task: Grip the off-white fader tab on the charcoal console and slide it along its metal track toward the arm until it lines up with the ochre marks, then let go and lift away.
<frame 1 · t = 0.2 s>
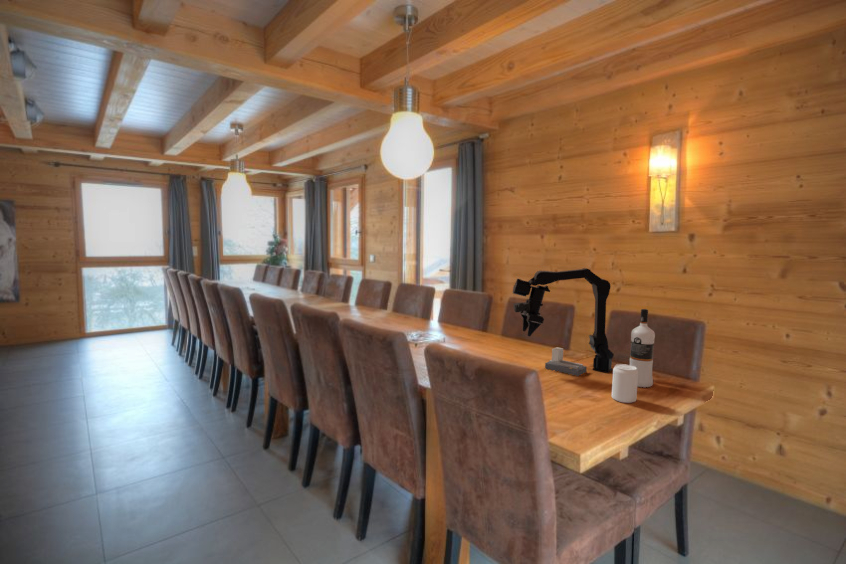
hand: (526, 333, 196), 15 cm above the table, tool pointing down, fingers open, 9 cm apart
fader console: (565, 370, 194), on the table
fader tab: (557, 355, 196), point 6 cm above the table, slide at 4.0 cm
vodka: (639, 384, 177), on the table
white cylinder: (623, 400, 160), on the table
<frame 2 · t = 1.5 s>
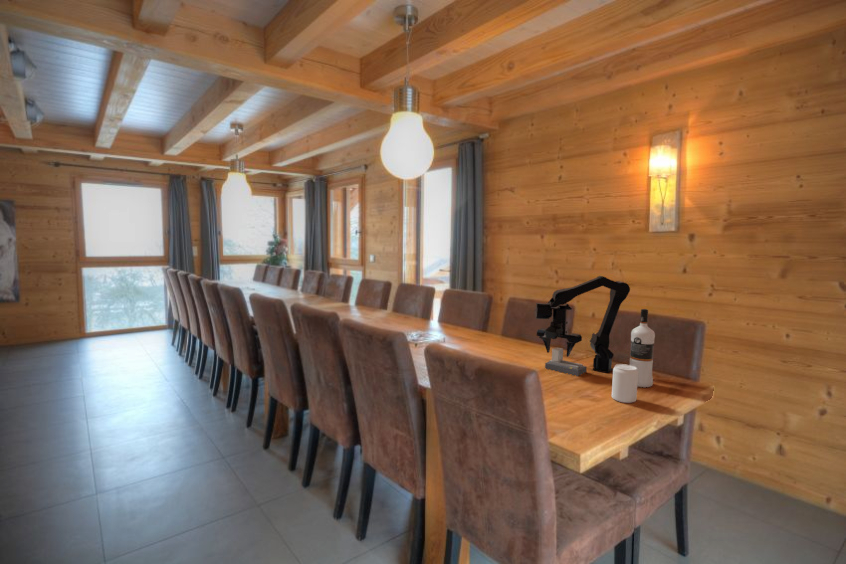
hand: (557, 354, 196), 6 cm above the table, tool pointing down, fingers open, 9 cm apart
nothing on the table moved.
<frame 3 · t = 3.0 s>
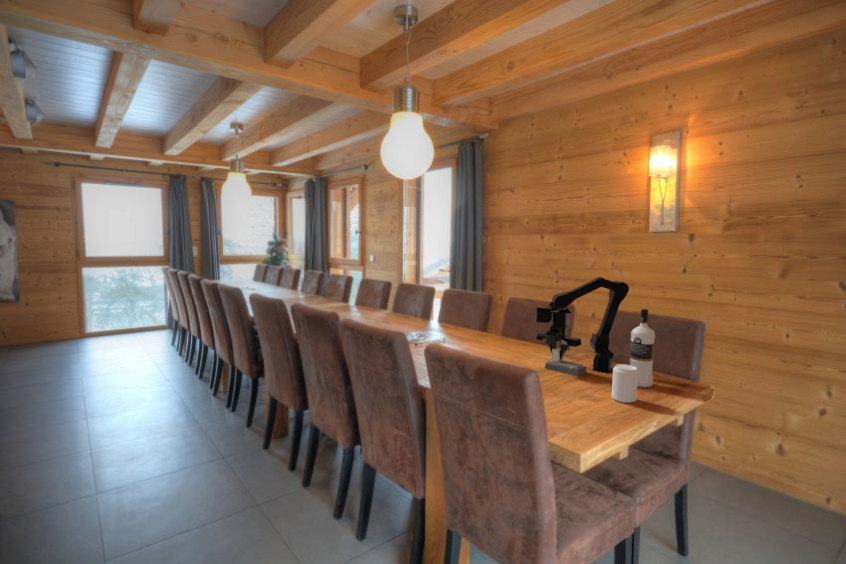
hand: (557, 358, 196), 5 cm above the table, tool pointing down, fingers closed on fader tab, 3 cm apart
fader tab: (557, 355, 196), point 6 cm above the table, slide at 4.0 cm, touching gripper
everything else where it was.
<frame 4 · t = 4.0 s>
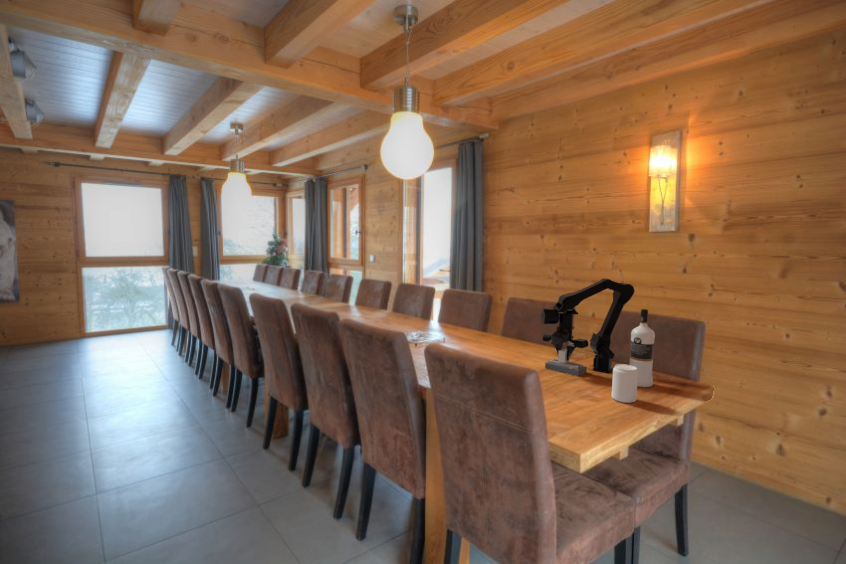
hand: (563, 359, 194), 4 cm above the table, tool pointing down, fingers closed on fader tab, 3 cm apart
fader tab: (563, 357, 194), point 6 cm above the table, slide at 1.0 cm, touching gripper
everything else where it was.
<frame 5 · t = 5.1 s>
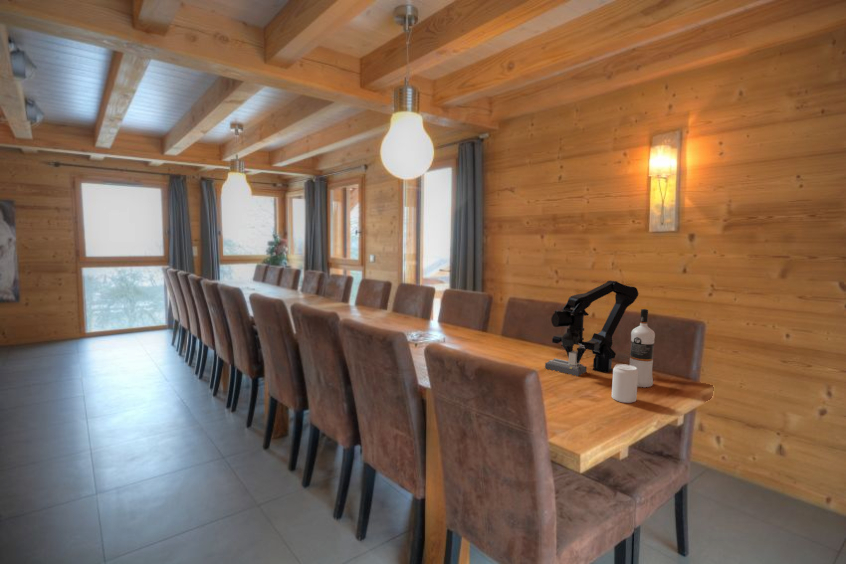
hand: (574, 362, 191), 4 cm above the table, tool pointing down, fingers closed on fader tab, 3 cm apart
fader tab: (574, 359, 191), point 6 cm above the table, slide at -3.7 cm, touching gripper
everything else where it was.
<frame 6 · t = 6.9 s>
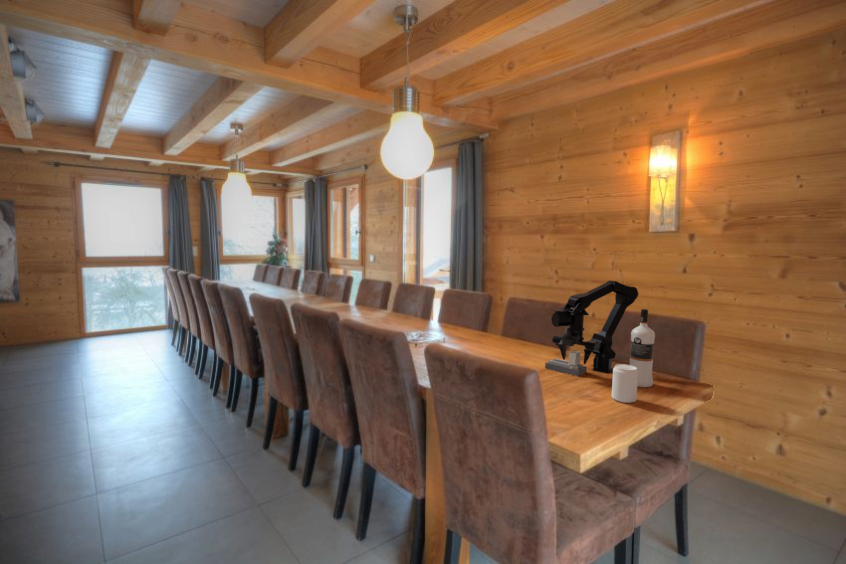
hand: (574, 361, 191), 5 cm above the table, tool pointing down, fingers open, 9 cm apart
fader tab: (574, 359, 191), point 6 cm above the table, slide at -3.8 cm
everything else where it was.
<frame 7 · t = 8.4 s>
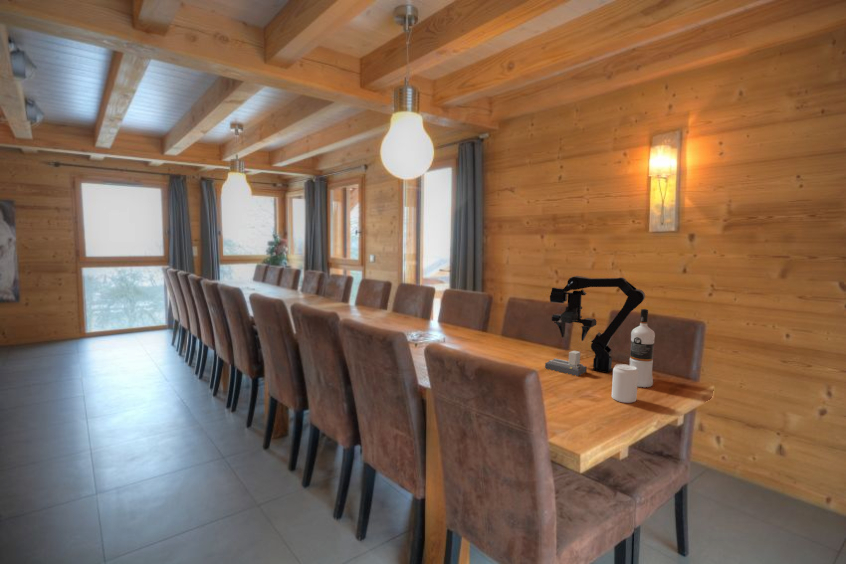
hand: (572, 338, 201), 12 cm above the table, tool pointing down, fingers open, 9 cm apart
nothing on the table moved.
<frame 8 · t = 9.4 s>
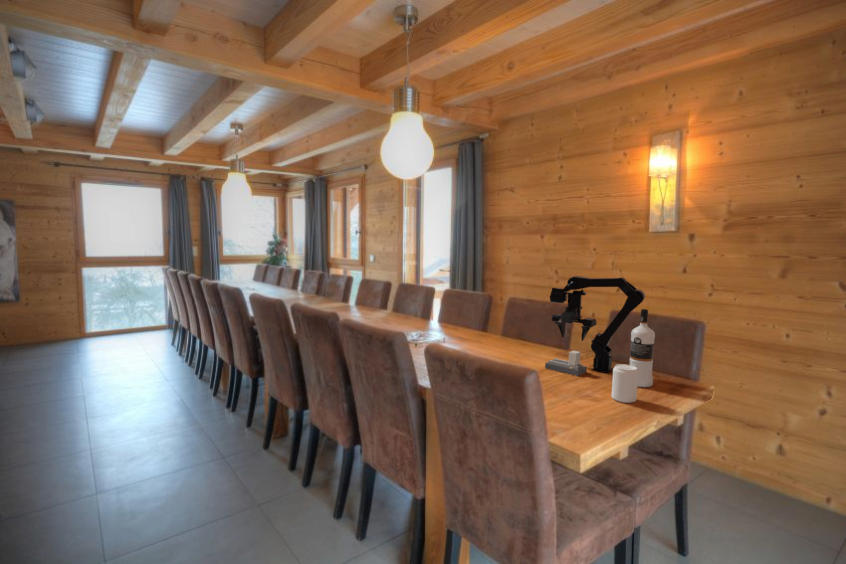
hand: (572, 338, 201), 12 cm above the table, tool pointing down, fingers open, 9 cm apart
nothing on the table moved.
at the end: fader tab slide at -3.8 cm; the gripper is holding nothing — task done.
